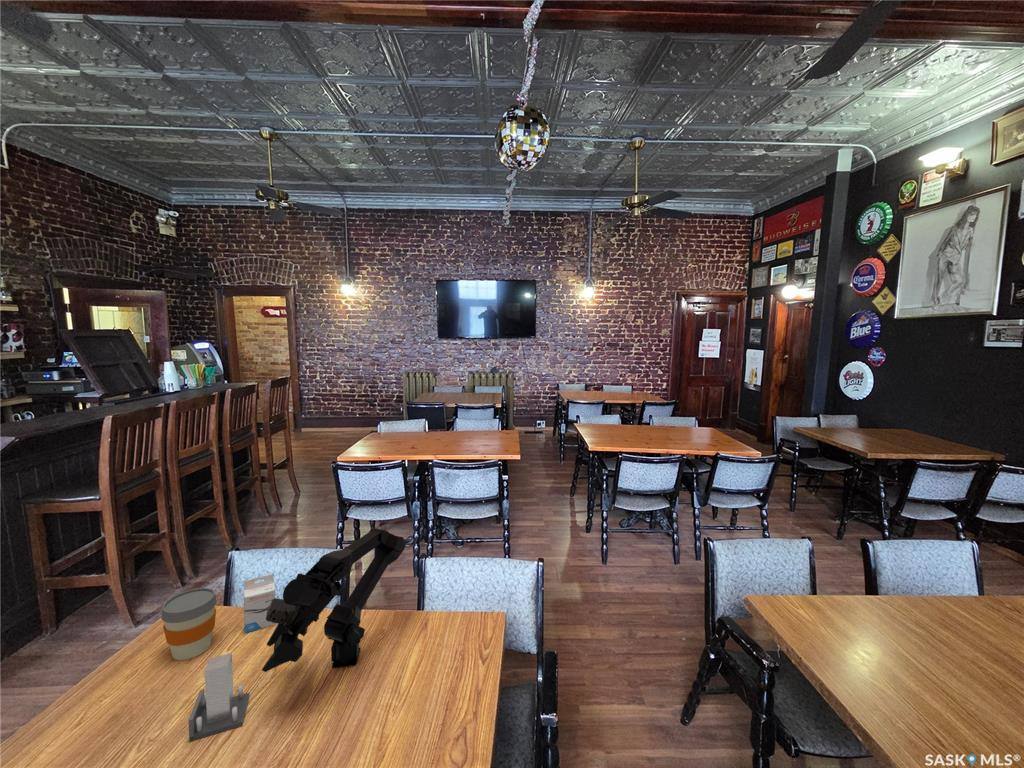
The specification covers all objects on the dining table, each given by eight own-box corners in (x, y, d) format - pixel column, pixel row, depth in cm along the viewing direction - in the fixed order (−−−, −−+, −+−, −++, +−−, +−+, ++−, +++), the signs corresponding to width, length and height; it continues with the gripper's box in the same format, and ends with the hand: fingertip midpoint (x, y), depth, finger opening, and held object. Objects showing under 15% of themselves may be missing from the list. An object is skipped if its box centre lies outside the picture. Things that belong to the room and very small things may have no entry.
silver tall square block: (234, 703, 101) (231, 652, 100) (230, 717, 97) (227, 665, 96) (212, 709, 99) (209, 658, 98) (207, 724, 95) (204, 671, 94)
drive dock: (249, 696, 104) (248, 677, 104) (242, 725, 96) (241, 705, 95) (201, 709, 100) (200, 690, 100) (189, 741, 92) (188, 720, 91)
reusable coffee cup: (224, 630, 128) (221, 584, 127) (210, 658, 116) (208, 607, 115) (174, 639, 124) (171, 592, 123) (155, 670, 112) (152, 617, 111)
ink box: (244, 634, 127) (242, 588, 125) (244, 625, 131) (242, 580, 130) (276, 624, 131) (275, 580, 130) (275, 615, 135) (274, 572, 134)
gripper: (289, 570, 112) (244, 619, 109) (283, 610, 95) (229, 670, 92) (322, 590, 116) (279, 638, 113) (322, 633, 99) (272, 691, 96)
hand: (265, 657), depth 103 cm, fingers open, 9 cm apart
